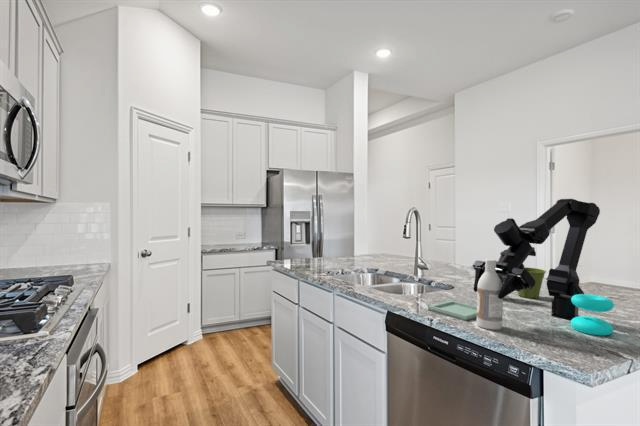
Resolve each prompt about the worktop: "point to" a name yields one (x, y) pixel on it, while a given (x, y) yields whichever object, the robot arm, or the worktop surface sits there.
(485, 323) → the bath foam
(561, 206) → the robot arm
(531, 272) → the plant pot
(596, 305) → the donuts
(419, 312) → the worktop surface
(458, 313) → the tray
